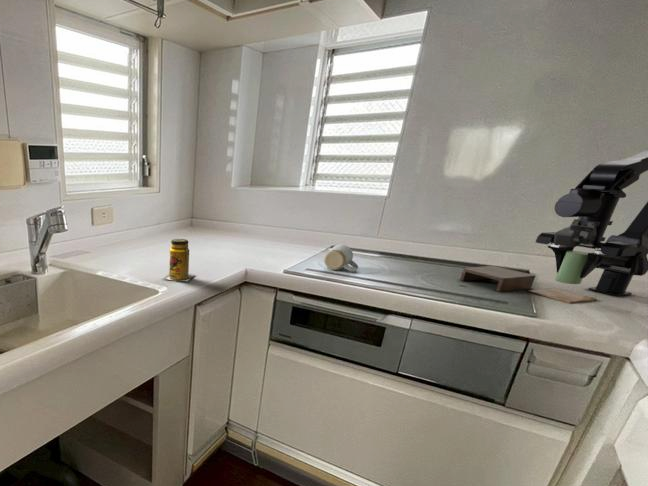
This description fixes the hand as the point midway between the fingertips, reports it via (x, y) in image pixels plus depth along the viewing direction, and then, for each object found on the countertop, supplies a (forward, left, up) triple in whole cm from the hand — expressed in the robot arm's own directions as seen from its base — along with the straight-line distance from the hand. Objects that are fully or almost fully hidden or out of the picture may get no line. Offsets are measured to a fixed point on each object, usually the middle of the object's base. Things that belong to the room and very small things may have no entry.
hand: (570, 275), depth 109 cm
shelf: (+7, -13, -6) cm, 16 cm away
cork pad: (0, 0, -6) cm, 6 cm away
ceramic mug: (+40, -40, -6) cm, 57 cm away
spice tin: (0, 0, -2) cm, 2 cm away
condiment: (+97, -43, -6) cm, 106 cm away
